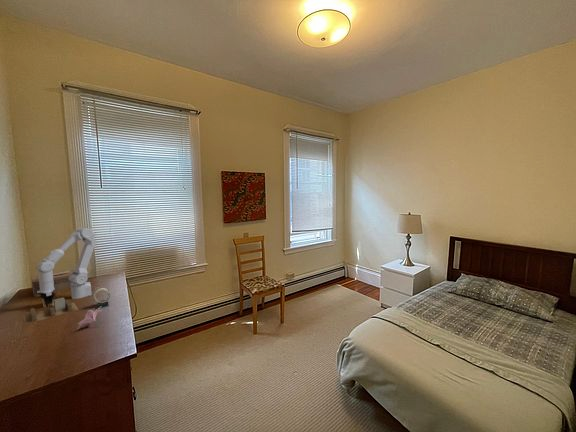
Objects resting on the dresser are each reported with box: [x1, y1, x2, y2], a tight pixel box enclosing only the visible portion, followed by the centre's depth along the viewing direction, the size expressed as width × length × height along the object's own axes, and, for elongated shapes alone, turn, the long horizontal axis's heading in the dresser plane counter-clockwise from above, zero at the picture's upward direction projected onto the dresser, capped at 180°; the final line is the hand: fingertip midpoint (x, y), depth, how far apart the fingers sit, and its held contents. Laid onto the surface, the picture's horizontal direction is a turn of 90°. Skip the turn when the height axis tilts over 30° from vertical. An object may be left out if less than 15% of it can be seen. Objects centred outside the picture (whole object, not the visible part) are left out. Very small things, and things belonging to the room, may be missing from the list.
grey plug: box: [53, 297, 66, 312], centre depth 131 cm, size 4×4×6 cm
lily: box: [76, 306, 103, 331], centre depth 115 cm, size 12×12×10 cm
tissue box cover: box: [30, 269, 74, 297], centre depth 165 cm, size 26×14×10 cm, turn 140°
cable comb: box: [22, 299, 79, 325], centre depth 128 cm, size 20×14×4 cm
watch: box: [93, 287, 112, 309], centre depth 136 cm, size 6×8×11 cm
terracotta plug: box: [42, 298, 55, 309], centre depth 136 cm, size 4×4×6 cm
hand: (48, 304), depth 136 cm, fingers closed on terracotta plug, 4 cm apart
